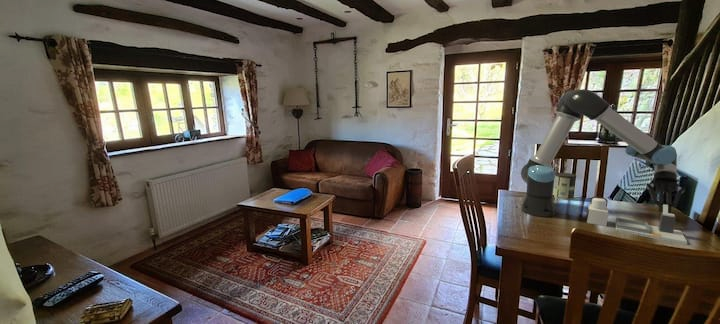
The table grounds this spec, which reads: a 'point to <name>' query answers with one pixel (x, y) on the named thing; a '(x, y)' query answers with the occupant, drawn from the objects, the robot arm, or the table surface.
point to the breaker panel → (647, 230)
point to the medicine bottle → (597, 211)
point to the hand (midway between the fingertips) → (664, 218)
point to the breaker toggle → (667, 222)
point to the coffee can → (564, 186)
